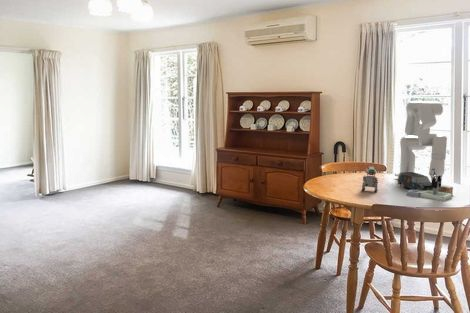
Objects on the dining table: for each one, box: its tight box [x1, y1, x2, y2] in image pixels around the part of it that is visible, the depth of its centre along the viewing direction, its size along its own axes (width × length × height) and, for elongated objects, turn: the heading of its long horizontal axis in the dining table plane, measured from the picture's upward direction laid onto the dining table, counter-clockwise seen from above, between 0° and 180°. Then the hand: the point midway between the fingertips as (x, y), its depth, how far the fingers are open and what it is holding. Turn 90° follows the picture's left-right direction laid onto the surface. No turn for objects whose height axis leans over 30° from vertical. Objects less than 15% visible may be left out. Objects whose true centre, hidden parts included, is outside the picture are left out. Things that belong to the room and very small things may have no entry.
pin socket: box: [406, 189, 423, 198], centre depth 252 cm, size 7×7×2 cm
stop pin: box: [433, 181, 440, 195], centre depth 246 cm, size 4×4×9 cm
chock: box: [438, 184, 454, 195], centre depth 255 cm, size 7×4×5 cm, turn 37°
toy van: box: [397, 171, 433, 191], centre depth 267 cm, size 11×25×10 cm, turn 13°
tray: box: [418, 190, 453, 202], centre depth 247 cm, size 14×11×2 cm
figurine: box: [361, 165, 379, 193], centre depth 263 cm, size 9×12×15 cm
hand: (436, 186), depth 246 cm, fingers open, 4 cm apart
